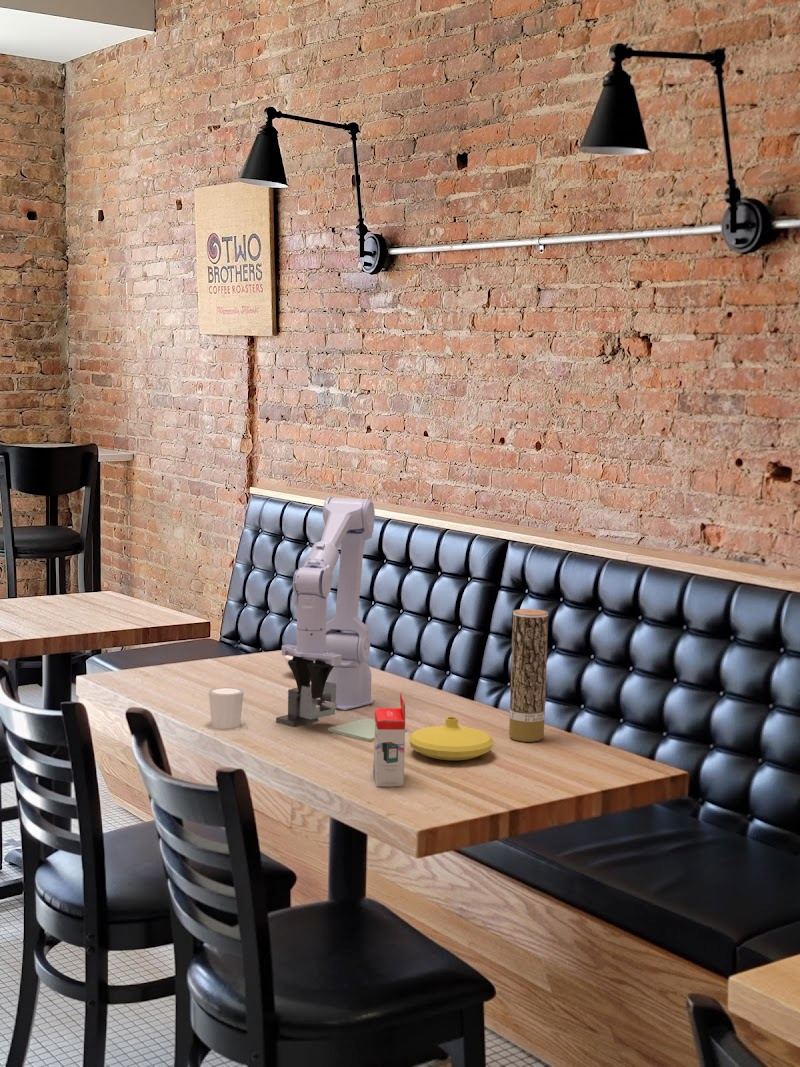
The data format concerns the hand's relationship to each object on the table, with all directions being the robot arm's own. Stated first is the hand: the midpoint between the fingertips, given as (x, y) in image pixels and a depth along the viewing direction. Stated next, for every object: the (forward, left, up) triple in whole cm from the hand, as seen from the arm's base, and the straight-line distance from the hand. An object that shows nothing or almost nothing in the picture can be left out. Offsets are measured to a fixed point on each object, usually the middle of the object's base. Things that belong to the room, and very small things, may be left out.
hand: (310, 696), depth 264 cm
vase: (-5, +31, -7) cm, 32 cm away
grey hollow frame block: (-2, 0, -5) cm, 6 cm away
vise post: (-2, -2, -7) cm, 7 cm away
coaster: (-7, +9, -7) cm, 13 cm away
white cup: (+10, -14, -7) cm, 18 cm away
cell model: (-33, -33, -7) cm, 47 cm away
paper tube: (-25, +35, -7) cm, 43 cm away
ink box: (+15, +33, -7) cm, 37 cm away
